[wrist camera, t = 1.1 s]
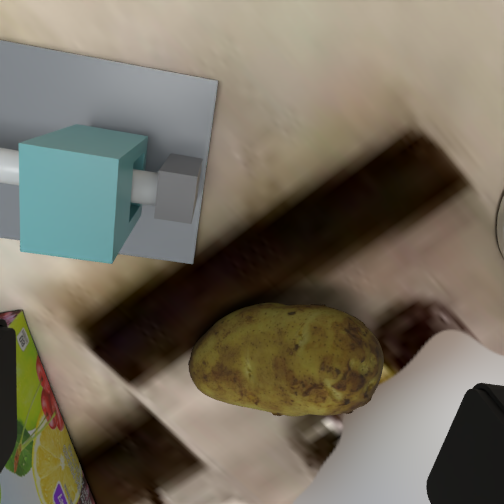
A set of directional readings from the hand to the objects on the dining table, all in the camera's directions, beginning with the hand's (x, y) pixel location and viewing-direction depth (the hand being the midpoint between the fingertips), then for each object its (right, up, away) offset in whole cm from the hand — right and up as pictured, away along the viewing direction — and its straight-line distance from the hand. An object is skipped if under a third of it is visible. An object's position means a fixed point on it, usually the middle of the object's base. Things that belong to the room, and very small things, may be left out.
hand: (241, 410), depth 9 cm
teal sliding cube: (-8, +8, +17) cm, 20 cm away
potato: (+2, -3, +25) cm, 25 cm away
